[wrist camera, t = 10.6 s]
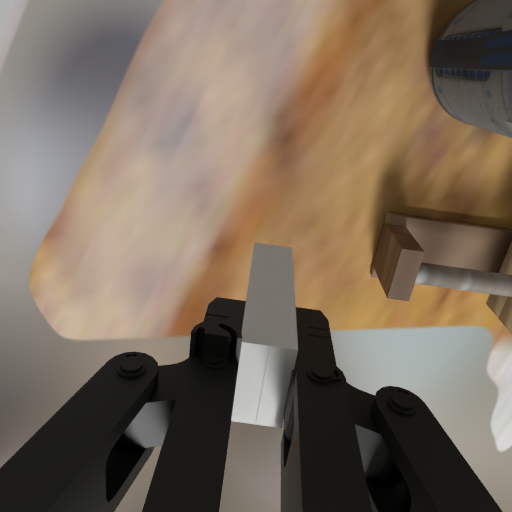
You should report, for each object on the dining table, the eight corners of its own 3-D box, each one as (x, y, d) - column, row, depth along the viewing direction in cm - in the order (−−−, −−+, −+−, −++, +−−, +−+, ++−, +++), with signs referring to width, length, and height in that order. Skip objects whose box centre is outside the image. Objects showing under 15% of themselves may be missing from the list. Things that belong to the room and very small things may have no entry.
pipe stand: (370, 273, 46) (384, 307, 40) (387, 212, 43) (405, 238, 37) (571, 301, 46) (618, 340, 40) (602, 242, 43) (657, 274, 37)
